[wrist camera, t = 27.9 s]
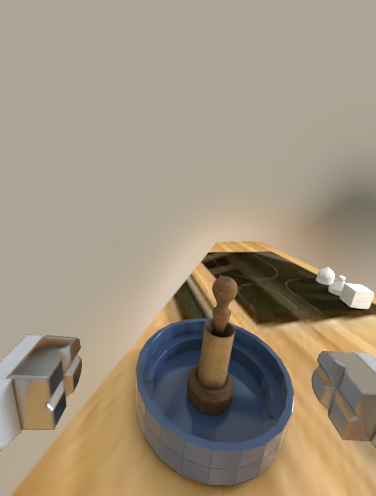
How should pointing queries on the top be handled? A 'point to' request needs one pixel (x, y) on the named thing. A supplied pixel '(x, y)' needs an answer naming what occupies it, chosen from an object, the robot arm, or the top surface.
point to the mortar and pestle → (215, 355)
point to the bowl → (212, 426)
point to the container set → (346, 289)
